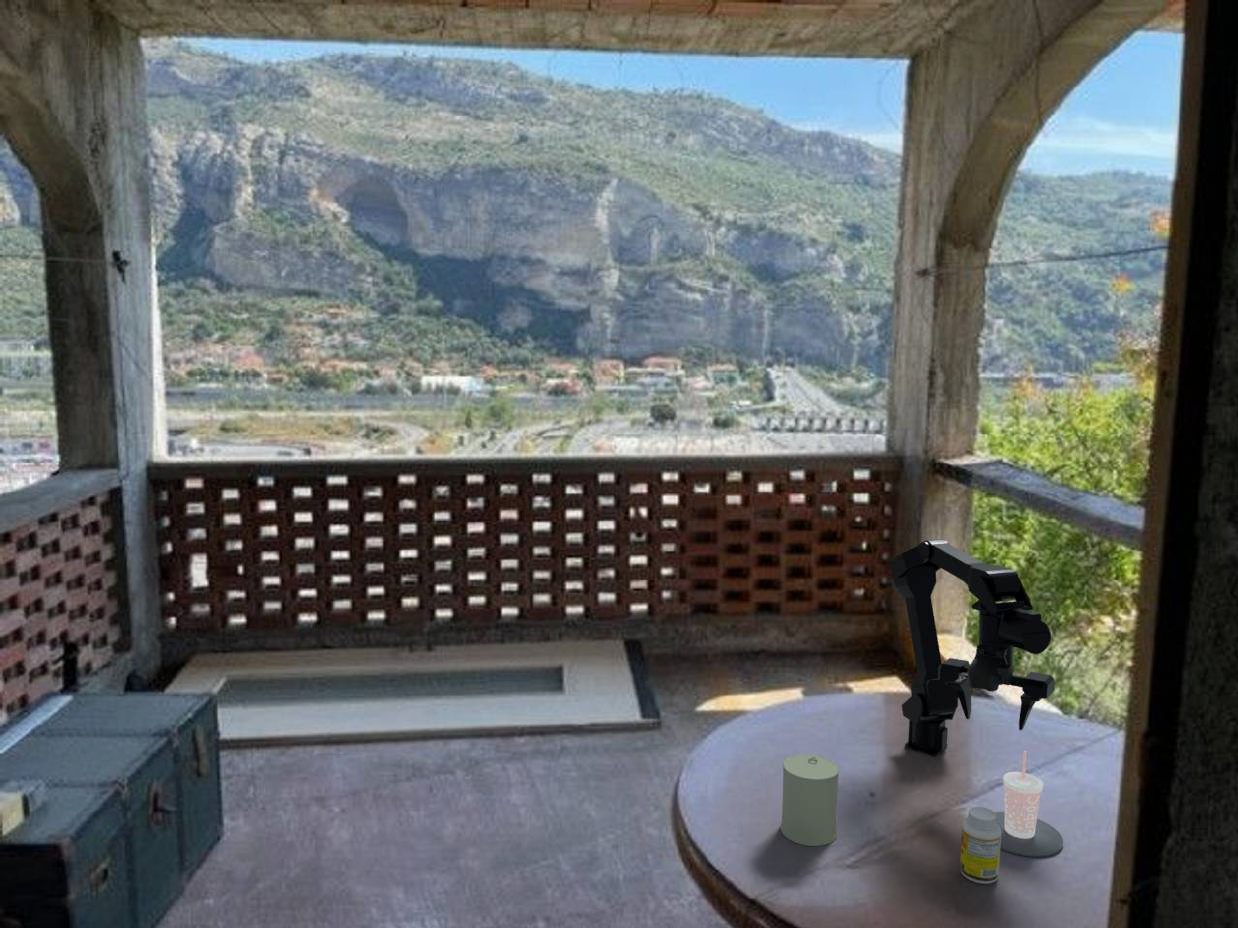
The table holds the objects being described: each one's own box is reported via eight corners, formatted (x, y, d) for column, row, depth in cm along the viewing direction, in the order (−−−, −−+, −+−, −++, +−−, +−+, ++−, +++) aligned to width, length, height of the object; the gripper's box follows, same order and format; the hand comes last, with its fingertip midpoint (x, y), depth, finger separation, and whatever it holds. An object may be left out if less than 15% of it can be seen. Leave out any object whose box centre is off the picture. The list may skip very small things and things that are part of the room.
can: (839, 822, 156) (842, 755, 155) (833, 850, 148) (836, 780, 146) (785, 813, 159) (787, 747, 158) (776, 840, 151) (778, 771, 149)
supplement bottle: (967, 860, 145) (970, 799, 144) (1003, 873, 142) (1007, 811, 140) (953, 876, 141) (957, 813, 140) (991, 890, 137) (995, 826, 136)
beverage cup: (1009, 840, 150) (1014, 759, 148) (993, 821, 156) (998, 743, 154) (1046, 840, 150) (1052, 759, 148) (1029, 821, 156) (1035, 743, 154)
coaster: (965, 836, 152) (965, 833, 152) (992, 807, 162) (993, 803, 162) (1049, 866, 144) (1049, 863, 144) (1072, 833, 153) (1072, 829, 153)
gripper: (927, 640, 164) (926, 725, 165) (1039, 658, 152) (1037, 750, 153) (949, 627, 172) (948, 708, 174) (1056, 643, 161) (1054, 730, 162)
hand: (994, 723), depth 165 cm, fingers open, 9 cm apart
